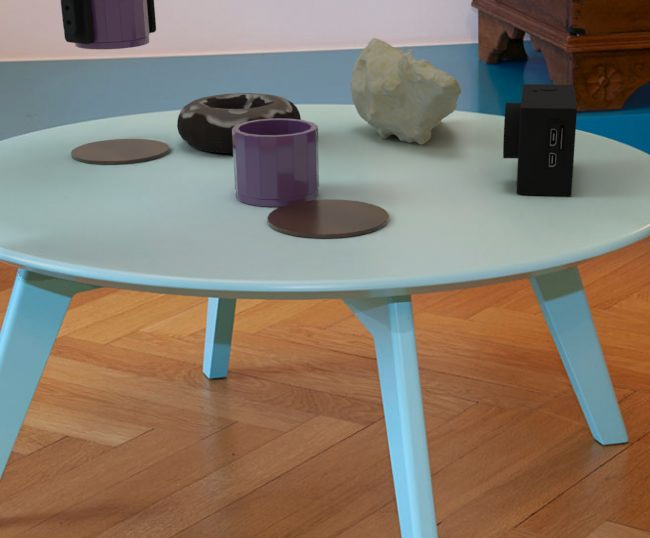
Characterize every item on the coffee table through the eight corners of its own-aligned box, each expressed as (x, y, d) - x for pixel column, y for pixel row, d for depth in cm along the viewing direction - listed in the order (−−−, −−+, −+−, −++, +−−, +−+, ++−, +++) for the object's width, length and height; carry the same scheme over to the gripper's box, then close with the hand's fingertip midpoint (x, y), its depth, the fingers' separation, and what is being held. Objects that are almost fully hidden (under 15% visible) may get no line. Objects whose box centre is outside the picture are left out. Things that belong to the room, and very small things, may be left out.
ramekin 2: (290, 211, 86) (288, 139, 84) (219, 200, 90) (215, 131, 87) (333, 190, 92) (332, 122, 90) (265, 181, 95) (262, 115, 93)
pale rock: (320, 95, 114) (366, 38, 114) (397, 162, 116) (443, 106, 116) (348, 87, 97) (404, 20, 96) (438, 166, 99) (493, 100, 98)
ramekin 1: (117, 51, 97) (111, -16, 95) (59, 46, 101) (52, -18, 98) (164, 40, 103) (159, -23, 101) (107, 36, 106) (102, -25, 104)
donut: (313, 152, 104) (312, 109, 102) (184, 161, 102) (181, 117, 100) (289, 126, 114) (288, 86, 113) (172, 134, 112) (170, 93, 111)
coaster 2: (352, 245, 78) (352, 241, 78) (244, 227, 83) (243, 223, 83) (409, 212, 86) (409, 208, 86) (307, 197, 90) (307, 194, 90)
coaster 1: (127, 168, 100) (127, 165, 99) (50, 157, 104) (50, 154, 104) (188, 147, 107) (188, 144, 107) (114, 138, 111) (114, 135, 111)
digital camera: (505, 162, 99) (509, 82, 96) (569, 164, 98) (574, 83, 96) (501, 194, 90) (504, 106, 87) (571, 196, 89) (577, 107, 86)
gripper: (135, -179, 103) (151, 22, 110) (-23, -181, 90) (6, 47, 97) (196, -182, 99) (208, 28, 106) (39, -185, 86) (65, 54, 93)
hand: (111, 35), depth 101 cm, fingers closed on ramekin 1, 6 cm apart
